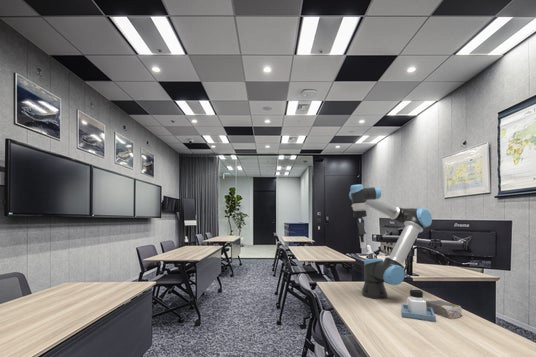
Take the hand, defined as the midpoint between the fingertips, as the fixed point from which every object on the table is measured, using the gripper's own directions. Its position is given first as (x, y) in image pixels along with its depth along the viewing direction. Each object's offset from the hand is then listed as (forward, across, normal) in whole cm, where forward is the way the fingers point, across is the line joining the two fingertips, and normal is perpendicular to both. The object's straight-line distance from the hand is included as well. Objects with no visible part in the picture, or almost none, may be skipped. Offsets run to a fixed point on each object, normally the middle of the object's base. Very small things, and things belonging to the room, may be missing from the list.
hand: (363, 246), depth 168 cm
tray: (+35, +7, +23) cm, 43 cm away
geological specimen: (+37, -2, +37) cm, 52 cm away
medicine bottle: (+35, +6, +23) cm, 42 cm away
